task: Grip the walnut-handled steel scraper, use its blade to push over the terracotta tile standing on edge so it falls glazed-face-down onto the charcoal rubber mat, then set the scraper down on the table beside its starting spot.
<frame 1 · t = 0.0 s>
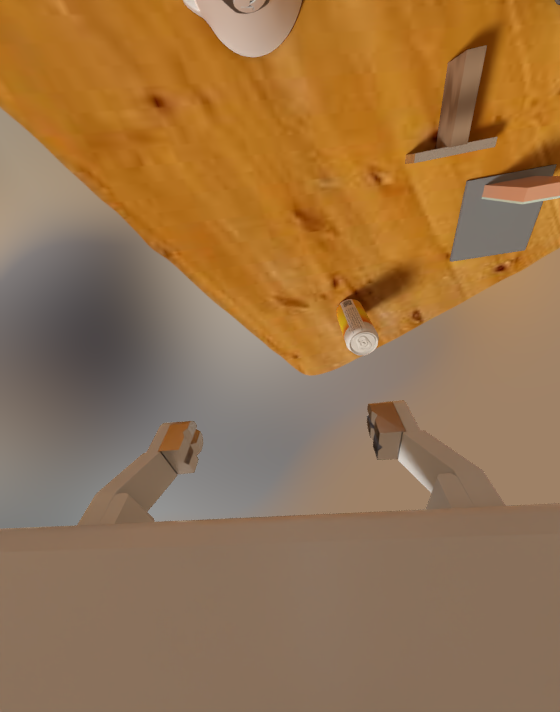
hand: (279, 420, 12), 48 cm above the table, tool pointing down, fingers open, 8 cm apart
walnut scraper: (449, 103, 40), on the table
charcoal mat: (496, 217, 48), on the table
terracotta tile: (507, 186, 45), resting on charcoal mat
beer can: (348, 309, 61), on the table
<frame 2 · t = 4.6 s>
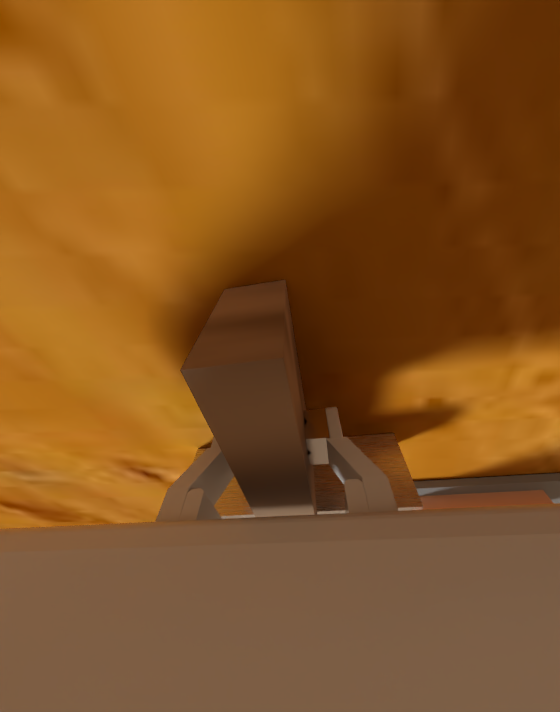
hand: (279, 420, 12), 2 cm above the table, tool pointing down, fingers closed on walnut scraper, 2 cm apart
walnut scraper: (275, 373, 12), on the table, touching gripper
charcoal mat: (454, 521, 21), on the table
terracotta tile: (474, 499, 18), resting on charcoal mat
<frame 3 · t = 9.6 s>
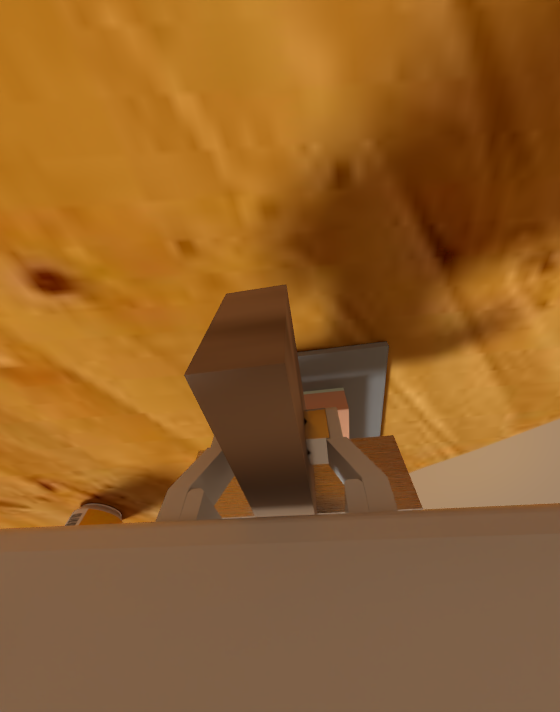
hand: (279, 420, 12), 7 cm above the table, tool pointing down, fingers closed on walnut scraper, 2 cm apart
walnut scraper: (276, 376, 12), point 5 cm above the table, touching gripper
charcoal mat: (296, 419, 22), on the table
terracotta tile: (290, 404, 18), point 2 cm above the table, tilted 90°, touching charcoal mat
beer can: (102, 510, 34), on the table
when the fingers open (3 cm above the table, at t = 16.0 s): walnut scraper drops 2 cm, on the table.
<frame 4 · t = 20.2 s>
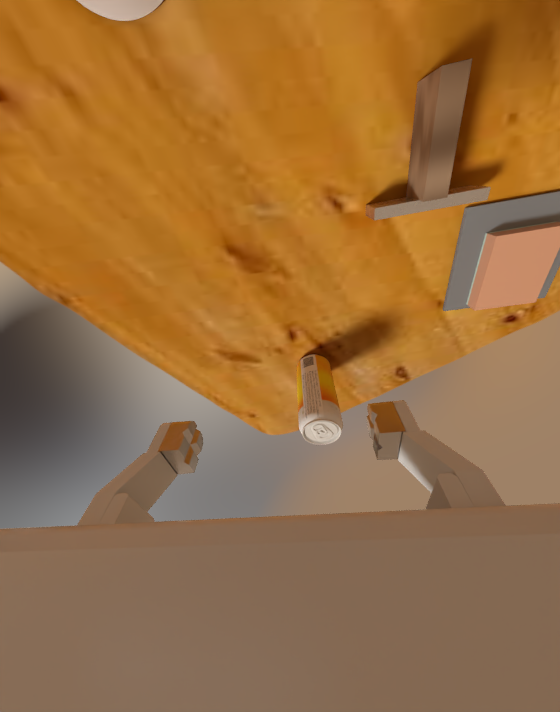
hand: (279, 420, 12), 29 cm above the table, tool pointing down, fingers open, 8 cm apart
walnut scraper: (423, 138, 28), on the table
charcoal mat: (507, 255, 35), on the table
terracotta tile: (527, 229, 31), point 2 cm above the table, tilted 90°, touching charcoal mat
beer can: (312, 364, 47), on the table
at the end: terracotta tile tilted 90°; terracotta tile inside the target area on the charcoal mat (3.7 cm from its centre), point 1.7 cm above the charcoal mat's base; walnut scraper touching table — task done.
